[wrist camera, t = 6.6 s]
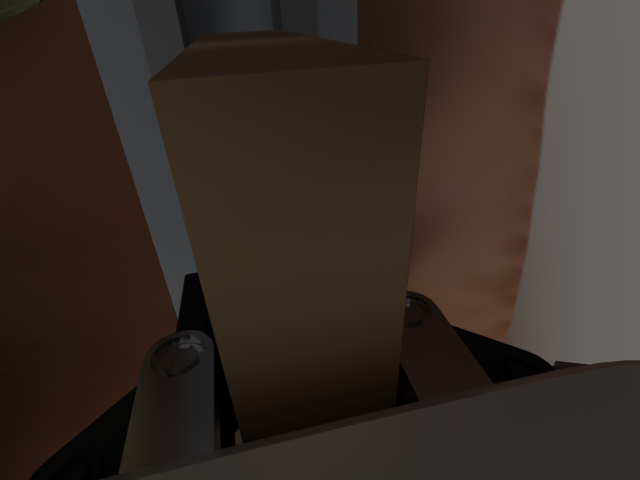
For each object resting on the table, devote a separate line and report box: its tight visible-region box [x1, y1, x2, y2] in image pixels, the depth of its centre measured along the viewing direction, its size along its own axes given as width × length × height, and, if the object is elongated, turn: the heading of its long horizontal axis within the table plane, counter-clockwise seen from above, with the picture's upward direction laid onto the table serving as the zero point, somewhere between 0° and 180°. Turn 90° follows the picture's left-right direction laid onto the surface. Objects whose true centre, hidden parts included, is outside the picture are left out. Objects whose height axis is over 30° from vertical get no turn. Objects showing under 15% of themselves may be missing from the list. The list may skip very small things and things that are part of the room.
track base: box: [76, 0, 358, 444], centre depth 14 cm, size 22×10×9 cm, turn 3°
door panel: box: [147, 29, 429, 444], centre depth 10 cm, size 12×3×9 cm, turn 3°
